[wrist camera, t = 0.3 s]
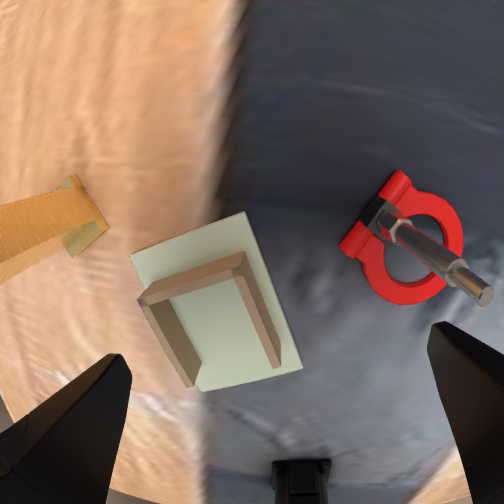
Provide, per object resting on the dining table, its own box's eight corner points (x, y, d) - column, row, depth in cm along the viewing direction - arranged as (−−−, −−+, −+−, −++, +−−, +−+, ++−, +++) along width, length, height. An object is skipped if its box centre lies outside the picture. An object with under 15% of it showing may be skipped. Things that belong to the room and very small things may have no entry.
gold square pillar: (109, 227, 22) (-12, 293, 10) (78, 254, 23) (-32, 326, 11) (76, 174, 21) (-55, 204, 9) (48, 205, 22) (-71, 249, 10)
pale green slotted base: (302, 364, 24) (305, 393, 21) (202, 387, 26) (194, 415, 22) (244, 210, 21) (239, 221, 17) (132, 253, 22) (110, 270, 19)
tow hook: (472, 236, 20) (399, 157, 19) (586, 309, 8) (539, 186, 7) (409, 315, 23) (326, 252, 21) (486, 431, 11) (391, 379, 9)
